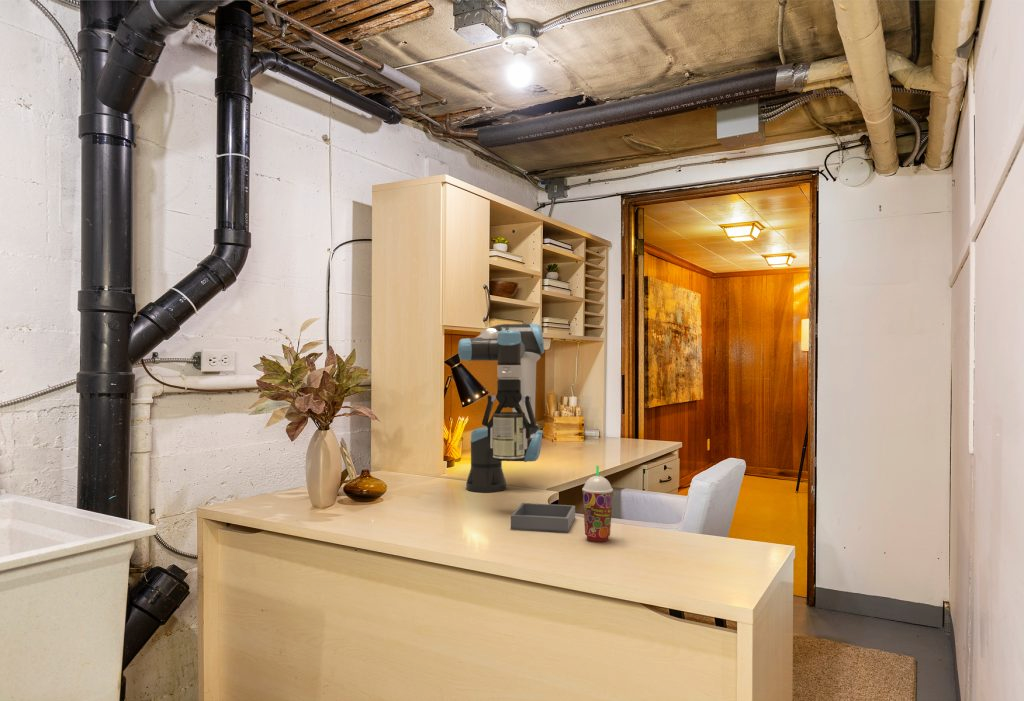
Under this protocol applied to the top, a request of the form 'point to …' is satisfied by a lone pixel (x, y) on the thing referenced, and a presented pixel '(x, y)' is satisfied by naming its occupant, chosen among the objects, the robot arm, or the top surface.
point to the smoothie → (597, 507)
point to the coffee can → (508, 435)
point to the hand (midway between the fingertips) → (508, 448)
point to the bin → (543, 517)
